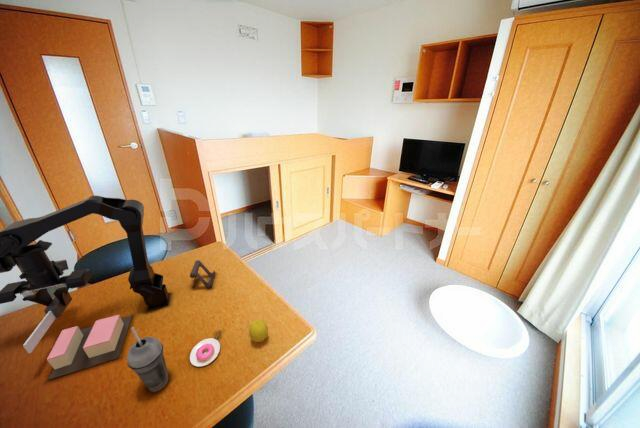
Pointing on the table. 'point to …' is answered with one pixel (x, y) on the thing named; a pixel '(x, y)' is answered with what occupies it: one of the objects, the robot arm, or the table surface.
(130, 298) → the table surface
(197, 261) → the tablet stand
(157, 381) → the beverage cup
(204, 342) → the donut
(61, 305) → the knife
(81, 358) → the cake board
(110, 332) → the cake
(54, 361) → the cake slice
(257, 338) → the lemon
